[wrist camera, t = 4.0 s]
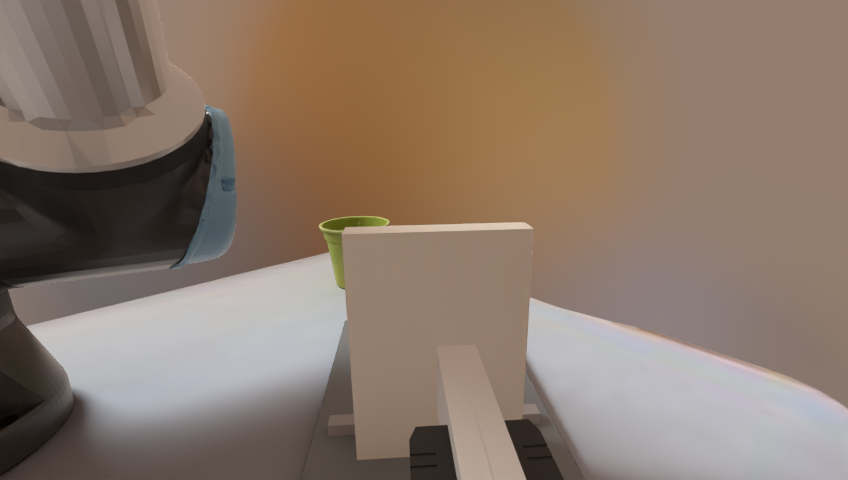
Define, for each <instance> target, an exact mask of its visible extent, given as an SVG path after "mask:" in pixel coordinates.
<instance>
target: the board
mask: <svg viewBox="0 0 848 480" xmlns="http://www.w3.org/2000/svg"><path fill="white" fill-rule="evenodd" d="M522 419H529V420H530V421H531V422H532V423H533V424H534V425H535V426H536V427H537V428H538V429H539V430H540V431H541V433H542V435H543V437H544V439H545V441H546V443H547V447H549V449H550V452H551V454H552V456H553V459H554V460H555V462H556V464H557V466H558V468H559V470H560V472H561V474H562V476H563V478H564V480H585V478H584V477H583V475H582V473H581V471H580V469H579V467H578V466H577V464H576V462H575V460H574V458H573V456H572V455H571V453H570V451H569V449H568V447H567V445H566V444H565V442H564V440H563V438H562V436H561V435H560V433H559V431H558V429H557V427H556V425H555V424H554V422H553V420H552V418H551V416H550V414H549V413H548V411H547V409H546V407H545V405H544V403H543V402H542V400H541V398H540V396H539V394H538V392H537V391H536V389H535V387H534V385H533V383H532V382H531V380H530V378H529V376H528V374H527V372H526V371H525V384H524V400H523V417H522ZM301 480H410V457H399V458H383V459H367V460H357V452H356V438H355V423H354V409H353V394H352V380H351V365H350V351H349V336H348V322H347V321H345V323H344V327H343V330H342V334H341V337H340V341H339V345H338V348H337V352H336V355H335V359H334V363H333V366H332V370H331V373H330V377H329V381H328V384H327V388H326V391H325V395H324V399H323V402H322V406H321V409H320V413H319V417H318V420H317V424H316V427H315V431H314V435H313V438H312V442H311V445H310V449H309V453H308V456H307V460H306V463H305V467H304V471H303V474H302V478H301Z"/></svg>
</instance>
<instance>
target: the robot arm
mask: <svg viewBox="0 0 848 480" xmlns="http://www.w3.org/2000/svg"><path fill="white" fill-rule="evenodd" d="M235 162H236V161H235V150H234V141H233V134H232V129H231V125H230V121H229V118H228V116H227V115H226V113H225V112H224V111H222V110H220V109H217V108H213V107H211V106H208V105H205V101H204V97H203V94H202V92H201V90H200V88H199V87H198V85H197V84H196V82H195V81H194V80H193V79H192V78H191V77H190V76H189V75H188V74H186V73H185V72H184V71H182V70H181V69H180V68H178V67H176V66H175V65H173V64H172V63H170V62H169V57H168V52H167V48H166V43H165V38H164V33H163V28H162V24H161V19H160V14H159V9H158V4H157V0H0V474H1V473H3V472H4V471H6V470H8V469H9V468H11V467H12V466H14V465H15V464H17V463H18V462H19V461H21V460H22V459H24V458H25V457H26V456H28V455H29V454H30V453H32V452H33V451H34V450H36V449H37V448H38V447H39V446H41V445H42V444H43V443H44V442H45V441H46V440H48V439H49V438H50V437H51V436H52V435H53V434H54V433H55V432H56V431H57V430H58V429H59V428H60V426H61V425H62V424H63V423H64V421H65V420H66V419H67V417H68V416H69V414H70V412H71V410H72V407H73V404H74V397H73V393H72V390H71V386H70V383H69V379H68V376H67V374H66V372H65V370H64V368H63V367H62V366H61V365H60V364H59V363H58V362H57V360H56V359H55V358H54V357H53V356H52V355H51V354H50V353H49V352H48V350H47V349H46V348H45V347H44V346H43V345H42V344H41V343H40V342H39V340H38V339H37V338H36V337H35V336H34V335H33V334H32V333H31V332H30V330H29V329H28V328H27V327H26V326H25V325H24V324H23V323H22V321H20V319H19V318H18V317H17V315H16V313H15V311H14V308H13V305H12V302H11V298H10V296H9V292H8V289H11V288H19V287H24V286H31V285H39V284H47V283H55V282H63V281H71V280H79V279H87V278H95V277H103V276H111V275H119V274H128V273H136V272H143V271H152V270H160V269H167V268H170V269H177V268H180V267H182V266H184V265H185V264H190V263H195V262H201V261H207V260H212V259H215V258H218V257H220V256H221V255H223V254H224V253H225V252H226V251H227V250H228V249H229V247H230V245H231V243H232V240H233V236H234V232H235V224H236V207H237V196H236V195H237V194H236V187H235V185H234V184H235V181H236V179H235V174H236V163H235ZM437 412H438V419H439V425H437V426H420V427H415V429H414V431H413V433H412V435H411V437H410V439H409V448H410V480H564V478H563V476H562V474H561V472H560V470H559V468H558V466H557V464H556V462H555V460H554V459H553V456H552V454H551V452H550V449H549V447H547V443H546V441H545V439H544V437H543V435H542V433H541V431H540V430H539V429H538V428H537V427H536V426H535V425H534V424H533V423H532V422H531V421H530V420H529V419H520V420H504V419H503V416H502V414H501V411H500V408H499V406H498V403H497V400H496V398H495V395H494V392H493V390H492V387H491V384H490V382H489V379H488V376H487V374H486V371H485V368H484V366H483V363H482V360H481V358H480V355H479V352H478V350H477V347H476V345H456V346H437Z"/></svg>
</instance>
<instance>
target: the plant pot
mask: <svg viewBox="0 0 848 480" xmlns="http://www.w3.org/2000/svg"><path fill="white" fill-rule="evenodd" d="M389 224H390V221H389V220H387V219H385V218H380V217H373V216H356V217H343V218H336V219H332V220H328V221H325V222H323V223H321V224H320V225H319V228H320V230H322V231H323V234H324V237H325V239H326V240H327V242H328V247H329V251H330V256H331V260H332V264H333V269H334V273H335V278H336V282H337V285H338V286H339V287H341V288H343V289H345V278H344V264H343V249H342V235H341V234H342V232H343V231H344V229H345V227H371V226H389Z"/></svg>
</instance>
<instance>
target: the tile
mask: <svg viewBox="0 0 848 480" xmlns="http://www.w3.org/2000/svg"><path fill="white" fill-rule="evenodd" d="M533 234H534V229H533V228H532V227H530V226H529V225H528V224H526V223H524V222H518V223H517V222H516V223H481V224H445V225H411V226H409V225H407V226H371V227H345V229H344V231H343V232H342V234H341V235H342V249H343V264H344V278H345V293H346V307H347V322H348V336H349V351H350V365H351V380H352V394H353V409H354V423H355V438H356V452H357V460H367V459H383V458H399V457H410V448H409V439H410V437H411V435H412V433H413V431H414V429H415V427H420V426H437V425H439V419H438V412H437V346H456V345H476V347H477V350H478V352H479V355H480V358H481V360H482V363H483V366H484V368H485V371H486V374H487V376H488V379H489V382H490V384H491V387H492V390H493V392H494V395H495V398H496V400H497V403H498V406H499V408H500V411H501V414H502V416H503V419H504V420H520V419H522V417H523V400H524V384H525V367H526V350H527V334H528V317H529V300H530V283H531V267H532V250H533Z"/></svg>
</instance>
